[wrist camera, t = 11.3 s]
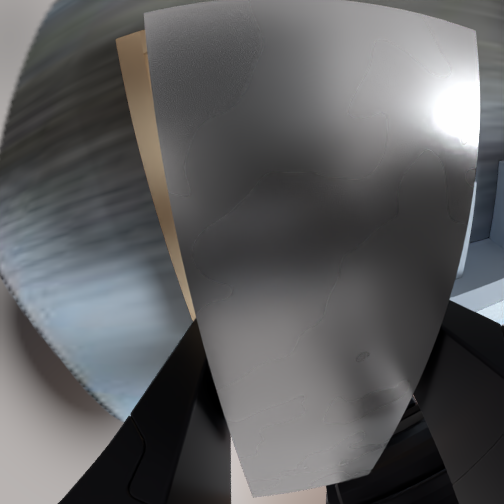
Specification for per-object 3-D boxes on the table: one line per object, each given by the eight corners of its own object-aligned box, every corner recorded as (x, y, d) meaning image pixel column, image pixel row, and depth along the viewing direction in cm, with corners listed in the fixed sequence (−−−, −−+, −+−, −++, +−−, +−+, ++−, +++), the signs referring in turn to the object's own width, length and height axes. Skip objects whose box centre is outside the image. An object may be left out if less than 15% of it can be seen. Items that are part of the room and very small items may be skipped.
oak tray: (345, 304, 20) (359, 331, 18) (208, 332, 20) (208, 362, 18) (322, 16, 12) (341, 4, 9) (132, 46, 12) (115, 39, 9)
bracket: (502, 254, 20) (536, 284, 16) (403, 284, 20) (436, 326, 16) (517, 159, 16) (561, 180, 12) (411, 168, 16) (460, 195, 12)
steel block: (340, 391, 12) (368, 474, 8) (243, 407, 12) (252, 497, 8) (359, 48, 6) (475, 30, 2) (185, 56, 6) (143, 13, 2)
